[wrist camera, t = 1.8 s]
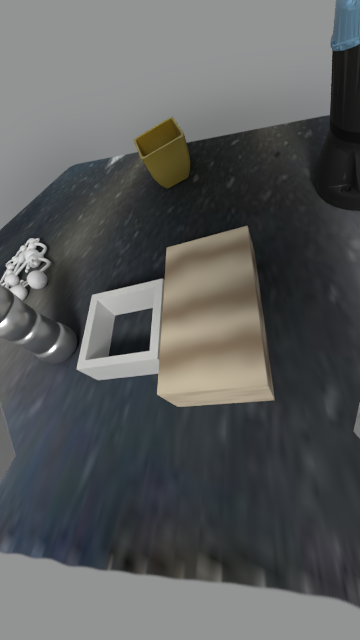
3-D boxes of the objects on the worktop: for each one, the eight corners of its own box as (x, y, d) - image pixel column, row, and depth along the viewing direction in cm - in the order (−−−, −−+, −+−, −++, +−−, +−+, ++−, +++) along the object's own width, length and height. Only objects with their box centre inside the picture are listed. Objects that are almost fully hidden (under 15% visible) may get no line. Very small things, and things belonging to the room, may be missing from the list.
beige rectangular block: (181, 271, 48) (166, 247, 43) (255, 254, 44) (247, 225, 39) (177, 406, 37) (157, 394, 32) (274, 400, 33) (267, 385, 28)
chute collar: (110, 310, 50) (92, 295, 46) (176, 296, 46) (162, 278, 42) (98, 380, 44) (76, 369, 40) (173, 371, 40) (157, 358, 36)
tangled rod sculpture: (9, 264, 74) (-6, 254, 71) (52, 231, 71) (38, 219, 68) (5, 320, 62) (-14, 311, 59) (56, 283, 59) (39, 272, 56)
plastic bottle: (88, 345, 48) (-25, 274, 32) (59, 375, 48) (-72, 318, 31) (73, 325, 52) (-36, 252, 36) (45, 353, 51) (-78, 291, 35)
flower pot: (188, 157, 63) (172, 115, 56) (200, 177, 58) (184, 133, 51) (153, 178, 65) (133, 139, 58) (162, 199, 60) (141, 159, 53)
